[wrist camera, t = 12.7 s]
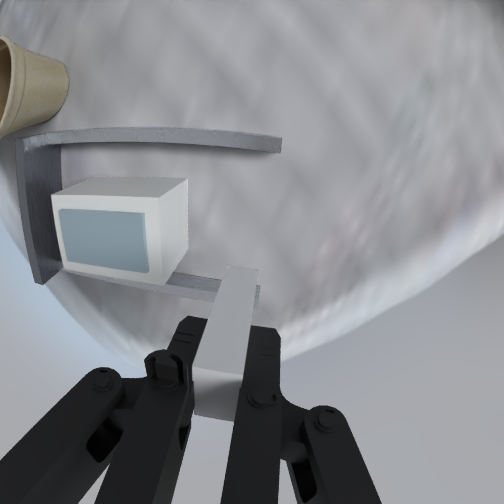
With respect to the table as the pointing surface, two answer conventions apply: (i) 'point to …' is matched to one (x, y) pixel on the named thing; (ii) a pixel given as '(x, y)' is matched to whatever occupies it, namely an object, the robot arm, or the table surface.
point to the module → (123, 226)
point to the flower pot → (28, 87)
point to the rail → (49, 182)
